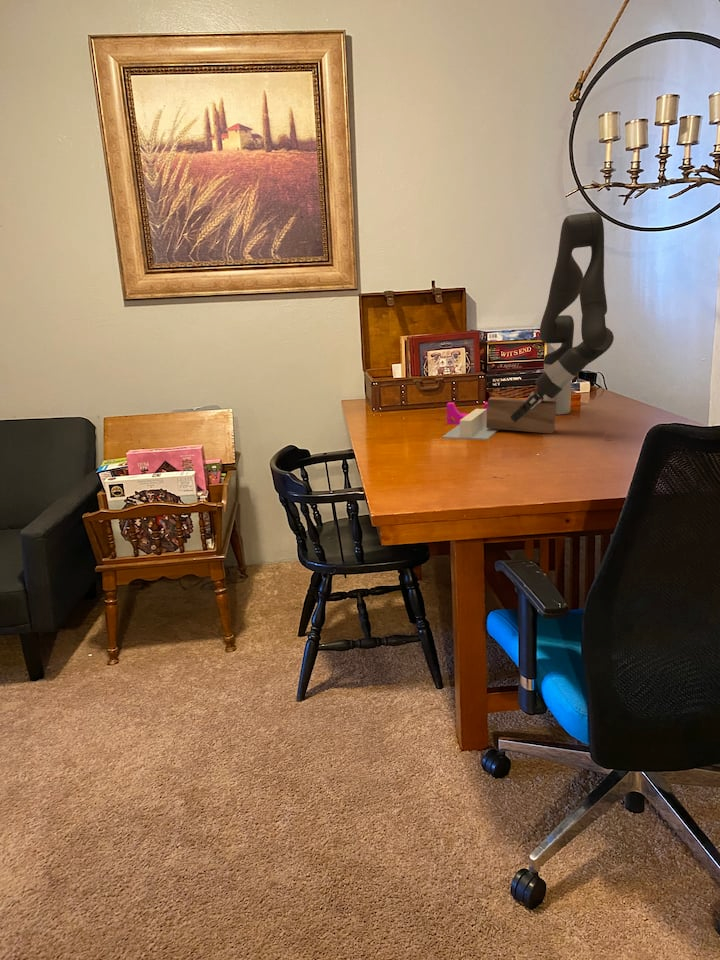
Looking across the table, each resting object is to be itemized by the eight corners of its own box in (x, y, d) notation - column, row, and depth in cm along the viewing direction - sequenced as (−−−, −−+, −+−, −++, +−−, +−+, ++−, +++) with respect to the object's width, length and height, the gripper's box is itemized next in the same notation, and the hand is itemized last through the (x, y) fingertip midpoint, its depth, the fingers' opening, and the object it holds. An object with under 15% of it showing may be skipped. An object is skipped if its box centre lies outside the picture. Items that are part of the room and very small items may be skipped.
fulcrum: (461, 425, 229) (461, 407, 227) (503, 426, 223) (503, 408, 222) (442, 440, 210) (441, 420, 208) (487, 441, 204) (487, 421, 202)
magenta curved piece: (494, 422, 232) (494, 400, 230) (492, 426, 226) (492, 403, 224) (449, 422, 236) (449, 401, 234) (447, 426, 230) (446, 404, 228)
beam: (489, 425, 218) (491, 396, 216) (554, 430, 211) (556, 401, 208) (486, 427, 214) (487, 399, 212) (552, 433, 207) (554, 404, 204)
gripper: (549, 366, 211) (510, 405, 219) (542, 373, 198) (500, 413, 206) (567, 384, 210) (527, 422, 218) (561, 391, 198) (518, 431, 206)
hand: (514, 417), depth 212 cm, fingers closed on beam, 4 cm apart
